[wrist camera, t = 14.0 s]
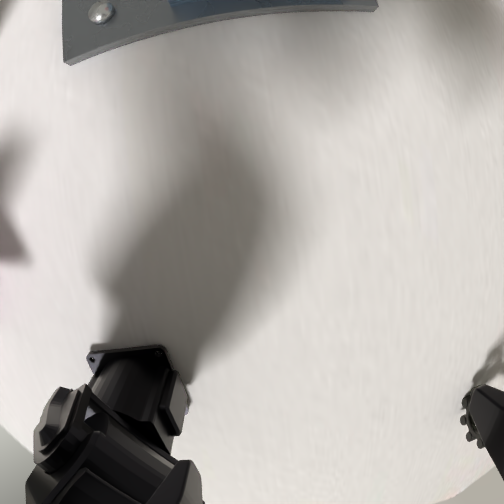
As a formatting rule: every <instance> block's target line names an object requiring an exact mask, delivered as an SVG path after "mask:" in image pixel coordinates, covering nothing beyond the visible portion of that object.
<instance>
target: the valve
mask: <svg viewBox="0 0 504 504" xmlns="http://www.w3.org/2000/svg"><path fill="white" fill-rule="evenodd" d="M477 387H479V386H477ZM477 387H474V388H472V389H471V395H470V396H468V397H465V398H463V400H462V406H463V407H464V408H466V414H465V415H463V416H461V418H460V422H461V424H462V425H466V424H467V426H468V428H469V432H468V433H467V434H466V439H467V441H468V442H471V441H473V440H475V439H477V440H478V441H477V446H478V448H479V449H482V448H484V447H485V445H484V443H483V441H482V439H481V436H480V434H479V432H478V430H477V427H476V426H475V423H474V420H473V418H472V416H471V414H470V411H469V404H470V401H471V398H472V394H473V391H474V389H475V388H477Z"/></svg>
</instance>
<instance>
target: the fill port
mask: <svg viewBox="0 0 504 504" xmlns="http://www.w3.org/2000/svg"><path fill="white" fill-rule="evenodd" d="M378 7H379V6H378V3H377V0H62V37H63V60H64V63H66V64H68V65H70V66H71V65H74V64H76V63H78V62H81V61H83V60H85V59H88V58H90V57H93V56H95V55H98V54H101V53H103V52H106V51H109V50H112V49H114V48H117V47H120V46H123V45H126V44H129V43H132V42H135V41H139V40H142V39H145V38H149V37H152V36H155V35H159V34H163V33H167V32H170V31H174V30H178V29H183V28H187V27H191V26H196V25H201V24H206V23H211V22H216V21H222V20H228V19H234V18H241V17H248V16H256V15H265V14H275V13H287V12H304V11H364V12H374V11H375V10H376V9H377V8H378Z"/></svg>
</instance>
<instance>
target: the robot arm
mask: <svg viewBox="0 0 504 504" xmlns="http://www.w3.org/2000/svg"><path fill="white" fill-rule="evenodd" d="M157 351H161V352H162V354H159V353H158V352H157ZM92 357H93V358H94V359H95V360H94V359H92ZM86 359H87V361H88V364H89V366H90V368H91V370H92V372H93V374H94V375H93V377H92V379H91V380H90V382H89V384H88V385H87V384H84V385H82V386H81V387H79V388H78V389H76V390H74V391H73V390H72V389H71V390H70V389H67V388H63V387H59V388H58V389H56V390H55V392H54V393H53V395H52V396H51V398H50V399H49V401H48V402H47V404H46V406H45V408H44V410H43V413H42V416H41V418H40V422H39V424H38V425H37V426H36V428H35V429H34V463H35V464H37V465H36V467H35V468H34V470H33V471H32V473H31V474H30V476H29V478H28V479H27V481H26V485H25V491H26V504H205V502H204V501H203V500H202V483H201V476H200V473H199V471H198V470H197V468H196V466H195V464H194V462H193V461H192V460H179V461H178V460H176V459H175V458H173V457H172V456H171V449H172V444H173V439H174V436H179V435H180V434H181V432H182V427H183V421H184V415H186V414H188V411H189V406H188V404H187V399H188V396H187V394H186V391H185V388H184V386H183V383H182V381H181V378H180V375H179V373H178V372H177V371H176V370H174V368H173V366H172V363H171V360H170V358H169V355H168V352H167V350H166V348H165V347H164V346H162V345H151V346H143V347H134V348H125V349H115V350H104V351H93V352H90V353H89V354H88V355H87V358H86ZM469 411H470V414H471V416H472V418H473V420H474V423H475V425H476V427H477V430H478V432H479V434H480V436H481V439H482V441H483V443H484V445H485V447H486V449H487V451H488V453H489V454H490V456H491V458H492V460H493V462H494V463H495V465H496V467H497V469H498V471H499V473H500V474H501V476H502V478H503V480H504V391H501V390H499V389H496V388H493V387H491V386H488V385H481V386H479V387H477V388H475V389H474V391H473V394H472V398H471V401H470V404H469Z"/></svg>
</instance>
